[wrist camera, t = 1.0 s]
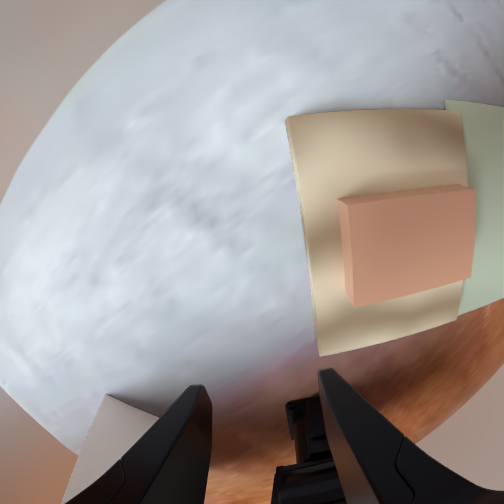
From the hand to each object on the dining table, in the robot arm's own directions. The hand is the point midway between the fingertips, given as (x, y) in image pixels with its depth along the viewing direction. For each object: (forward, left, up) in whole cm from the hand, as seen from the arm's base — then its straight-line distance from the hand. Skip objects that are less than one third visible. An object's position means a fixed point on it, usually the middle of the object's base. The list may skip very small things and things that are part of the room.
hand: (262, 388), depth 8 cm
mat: (0, -21, -12) cm, 24 cm away
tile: (0, -9, -10) cm, 14 cm away
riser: (0, -9, -12) cm, 15 cm away
